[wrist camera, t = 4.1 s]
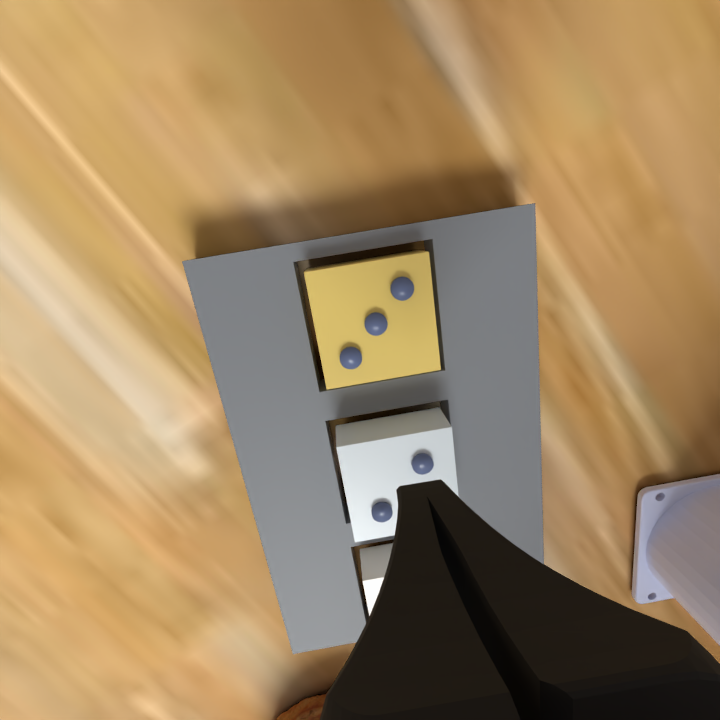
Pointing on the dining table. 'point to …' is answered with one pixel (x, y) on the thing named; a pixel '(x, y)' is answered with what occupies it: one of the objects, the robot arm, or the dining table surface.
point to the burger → (305, 709)
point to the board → (375, 399)
